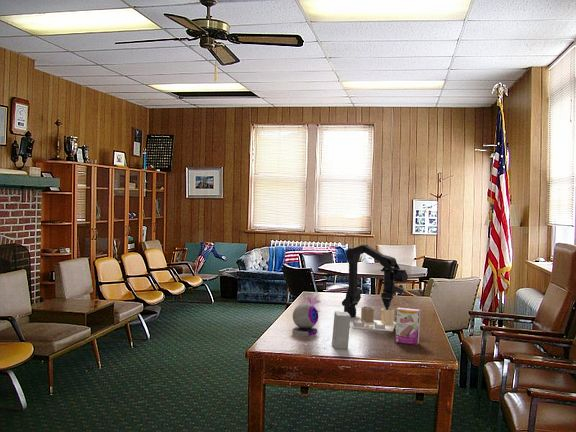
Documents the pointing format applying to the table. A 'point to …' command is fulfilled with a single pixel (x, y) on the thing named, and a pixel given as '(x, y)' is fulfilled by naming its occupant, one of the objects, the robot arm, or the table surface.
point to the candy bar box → (407, 326)
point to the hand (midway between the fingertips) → (387, 308)
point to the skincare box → (341, 330)
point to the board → (371, 324)
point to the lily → (311, 300)
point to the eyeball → (305, 319)
